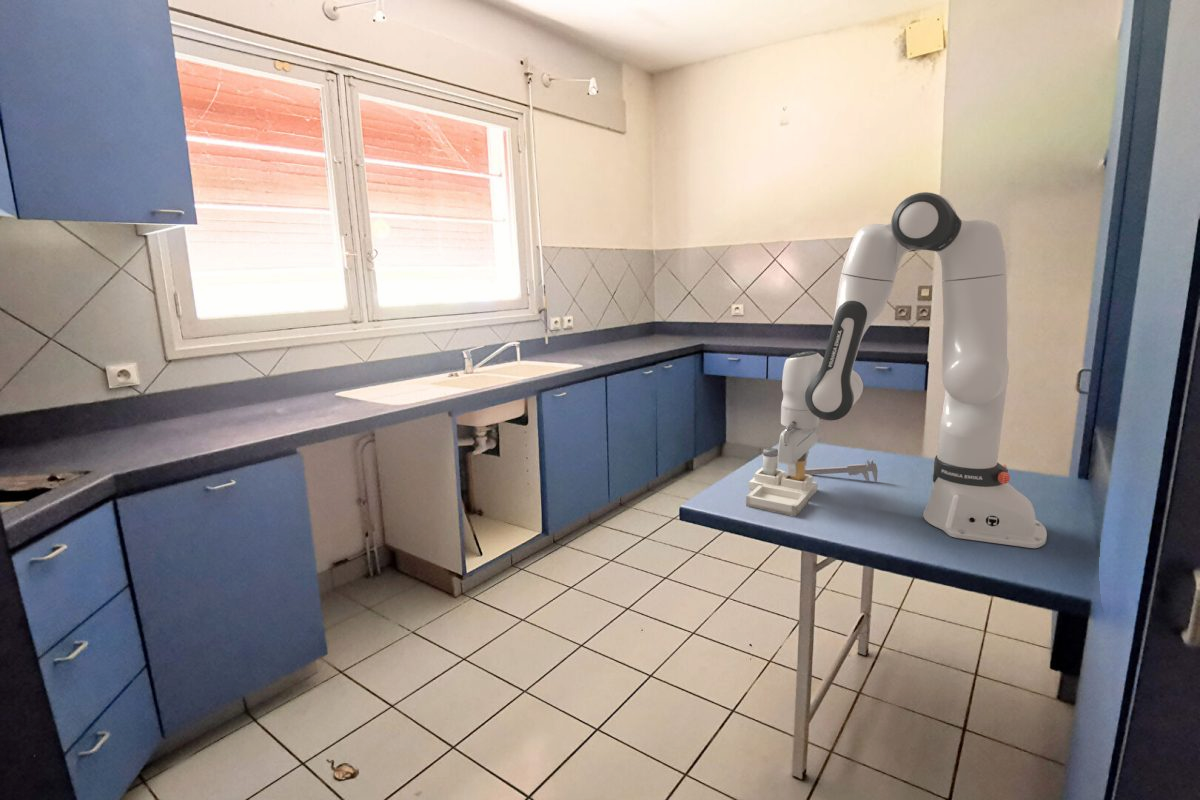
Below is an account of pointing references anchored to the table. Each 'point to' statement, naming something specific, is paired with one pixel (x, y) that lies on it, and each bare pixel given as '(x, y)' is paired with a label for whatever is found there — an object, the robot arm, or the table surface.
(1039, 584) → the table surface
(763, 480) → the block
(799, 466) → the fuse
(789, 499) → the parts tray
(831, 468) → the caliper
